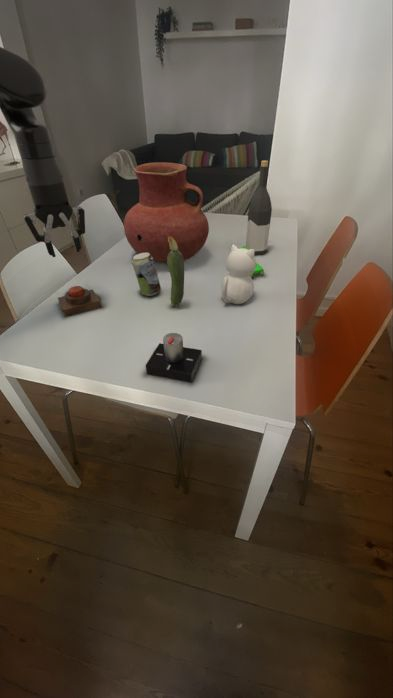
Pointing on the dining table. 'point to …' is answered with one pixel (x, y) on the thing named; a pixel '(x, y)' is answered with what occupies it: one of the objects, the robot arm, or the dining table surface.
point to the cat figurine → (239, 276)
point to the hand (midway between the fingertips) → (65, 253)
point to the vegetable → (176, 272)
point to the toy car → (258, 268)
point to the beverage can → (146, 274)
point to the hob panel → (174, 364)
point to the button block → (79, 302)
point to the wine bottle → (259, 215)
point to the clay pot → (165, 213)
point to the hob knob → (173, 347)
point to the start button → (76, 291)
